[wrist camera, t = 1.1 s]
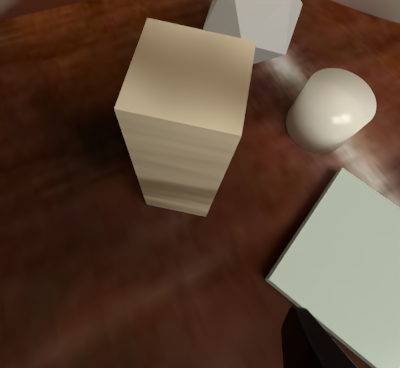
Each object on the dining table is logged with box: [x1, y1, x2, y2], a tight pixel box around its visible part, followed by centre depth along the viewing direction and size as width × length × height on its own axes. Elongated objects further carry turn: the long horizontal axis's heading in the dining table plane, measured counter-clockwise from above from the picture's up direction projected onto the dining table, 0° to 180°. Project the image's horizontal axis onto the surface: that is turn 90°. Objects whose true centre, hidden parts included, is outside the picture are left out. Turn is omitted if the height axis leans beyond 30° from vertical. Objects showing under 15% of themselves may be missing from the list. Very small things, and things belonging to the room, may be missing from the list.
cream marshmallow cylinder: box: [286, 68, 376, 154], centre depth 25 cm, size 6×6×4 cm
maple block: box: [114, 18, 256, 217], centre depth 18 cm, size 5×5×13 cm
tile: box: [265, 168, 400, 368], centre depth 22 cm, size 12×12×1 cm
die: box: [203, 0, 302, 64], centre depth 26 cm, size 8×9×10 cm
